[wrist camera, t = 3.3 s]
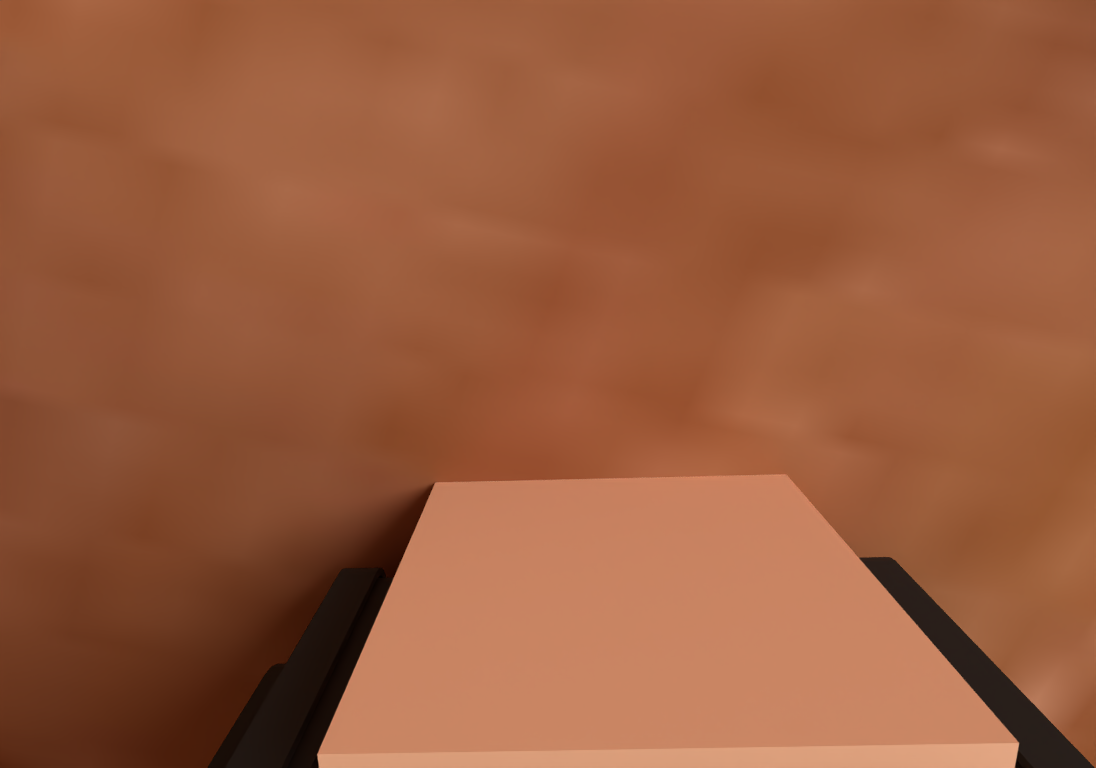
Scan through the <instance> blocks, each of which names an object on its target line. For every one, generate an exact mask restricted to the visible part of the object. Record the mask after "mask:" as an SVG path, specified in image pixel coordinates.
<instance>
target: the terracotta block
mask: <svg viewBox="0 0 1096 768" xmlns="http://www.w3.org/2000/svg"><path fill="white" fill-rule="evenodd" d="M1018 747H1019V742H1018V741H1017V740H1016V739H1015V738H1014V736H1013V735H1012V734H1011V733H1010V732H1009V731H1008V730H1007V728H1006V727H1005V726H1004V725H1003V724H1002V723H1001V721H1000V720H999V719H998V718H997V717H996V716H995V715H994V713H993V712H992V711H991V710H990V709H989V708H988V706H987V705H986V704H985V703H984V702H983V701H982V700H981V698H980V697H979V696H978V695H977V694H976V693H975V691H974V690H973V689H972V688H971V687H970V686H969V685H968V683H967V682H966V681H965V680H964V679H963V678H962V676H961V675H960V674H959V673H958V672H957V671H956V670H955V668H954V667H953V666H952V665H951V664H950V663H949V661H948V660H947V659H946V658H945V657H944V656H943V655H942V653H941V652H940V651H939V650H938V649H937V648H936V646H935V645H934V644H933V643H932V642H931V641H930V640H929V638H928V637H927V636H926V635H925V634H924V633H923V631H922V630H921V629H920V628H919V627H918V626H917V625H916V623H915V622H914V621H913V620H912V619H911V618H910V616H909V615H908V614H907V613H906V612H905V611H904V610H903V608H902V607H901V606H900V605H899V604H898V603H897V601H896V600H895V599H894V598H893V597H892V596H891V595H890V593H889V592H888V591H887V590H886V589H885V588H884V587H883V585H882V584H881V583H880V582H879V581H878V580H877V578H876V577H875V576H874V575H873V574H872V573H871V572H870V570H869V569H868V568H867V567H866V566H865V565H864V563H863V562H862V561H861V560H860V559H859V558H858V557H857V555H856V554H855V553H854V552H853V551H852V550H851V548H850V547H849V546H848V545H847V544H846V543H845V542H844V540H843V539H842V538H841V537H840V536H839V535H838V533H837V532H836V531H835V530H834V529H833V528H832V527H831V525H830V524H829V523H828V522H827V521H826V520H825V518H824V517H823V516H822V515H821V514H820V513H819V512H818V510H817V509H816V508H815V507H814V506H813V505H812V503H811V502H810V501H809V500H808V499H807V498H806V497H805V495H804V494H803V493H802V492H801V491H800V490H799V488H798V487H797V486H796V485H795V484H794V483H793V482H792V480H791V479H790V478H789V477H788V476H787V475H786V474H782V475H739V476H697V477H654V478H611V479H568V480H525V481H482V482H440V483H435V484H434V487H433V489H432V491H431V493H430V496H429V498H428V500H427V503H426V505H425V507H424V510H423V512H422V514H421V517H420V519H419V521H418V523H417V526H416V528H415V530H414V533H413V535H412V537H411V540H410V542H409V544H408V546H407V549H406V551H405V553H404V556H403V558H402V560H401V563H400V565H399V567H398V570H397V572H396V574H395V576H394V579H393V581H392V583H391V586H390V588H389V590H388V593H387V595H386V597H385V600H384V602H383V604H382V606H381V609H380V611H379V613H378V616H377V618H376V620H375V623H374V625H373V627H372V629H371V632H370V634H369V636H368V639H367V641H366V643H365V646H364V648H363V650H362V653H361V655H360V657H359V659H358V662H357V664H356V666H355V669H354V671H353V673H352V676H351V678H350V680H349V682H348V685H347V687H346V689H345V692H344V694H343V696H342V699H341V701H340V703H339V706H338V708H337V710H336V712H335V715H334V717H333V719H332V722H331V724H330V726H329V729H328V731H327V733H326V735H325V738H324V740H323V742H322V745H321V747H320V749H319V752H318V754H317V756H318V763H319V768H1015V763H1016V758H1017V752H1018Z"/></svg>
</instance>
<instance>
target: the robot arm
mask: <svg viewBox="0 0 1096 768" xmlns="http://www.w3.org/2000/svg"><path fill="white" fill-rule="evenodd" d="M859 559H860V560H861V561H862V562H863V563H864V565H865V566H866V567H867V568H868V569H869V570H870V572H871V573H872V574H873V575H874V576H875V577H876V578H877V580H878V581H879V582H880V583H881V584H882V585H883V587H884V588H885V589H886V590H887V591H888V592H889V593H890V595H891V596H892V597H893V598H894V599H895V600H896V601H897V603H898V604H899V605H900V606H901V607H902V608H903V610H904V611H905V612H906V613H907V614H908V615H909V616H910V618H911V619H912V620H913V621H914V622H915V623H916V625H917V626H918V627H919V628H920V629H921V630H922V631H923V633H924V634H925V635H926V636H927V637H928V638H929V640H930V641H931V642H932V643H933V644H934V645H935V646H936V648H937V649H938V650H939V651H940V652H941V653H942V655H943V656H944V657H945V658H946V659H947V660H948V661H949V663H950V664H951V665H952V666H953V667H954V668H955V670H956V671H957V672H958V673H959V674H960V675H961V676H962V678H963V679H964V680H965V681H966V682H967V683H968V685H969V686H970V687H971V688H972V689H973V690H974V691H975V693H976V694H977V695H978V696H979V697H980V698H981V700H982V701H983V702H984V703H985V704H986V705H987V706H988V708H989V709H990V710H991V711H992V712H993V713H994V715H995V716H996V717H997V718H998V719H999V720H1000V721H1001V723H1002V724H1003V725H1004V726H1005V727H1006V728H1007V730H1008V731H1009V732H1010V733H1011V734H1012V735H1013V736H1014V738H1015V739H1016V740H1017V741H1018V742H1019V747H1018V752H1017V758H1016V763H1015V768H1094V767H1093V766H1092V765H1091V763H1090V762H1089V761H1088V760H1087V759H1086V758H1085V757H1084V756H1083V755H1082V754H1081V753H1080V752H1079V751H1078V750H1077V749H1076V748H1075V747H1074V746H1073V745H1072V744H1071V743H1070V742H1069V741H1068V740H1067V739H1066V738H1065V736H1064V735H1063V734H1062V733H1061V732H1060V731H1059V730H1058V729H1057V728H1056V727H1055V726H1054V725H1053V724H1052V723H1051V722H1050V721H1049V720H1048V719H1047V718H1046V717H1045V716H1044V715H1043V714H1042V713H1041V712H1040V711H1039V709H1038V708H1037V707H1036V706H1035V705H1034V704H1033V703H1032V702H1031V701H1030V700H1029V699H1028V698H1027V697H1026V696H1025V695H1024V694H1023V693H1022V692H1021V691H1020V690H1019V689H1018V688H1017V687H1016V686H1015V685H1014V684H1013V682H1012V681H1011V680H1010V679H1009V678H1008V677H1007V676H1006V675H1005V674H1004V673H1003V672H1002V671H1001V670H1000V669H999V668H998V667H997V666H996V665H995V664H994V663H993V662H992V661H991V660H990V659H989V658H988V657H987V655H986V654H985V653H984V652H983V651H982V650H981V649H980V648H979V647H978V646H977V645H976V644H975V643H974V642H973V641H972V640H971V639H970V638H969V637H968V636H967V635H966V634H965V633H964V632H963V631H962V630H961V628H960V627H959V626H958V625H957V624H956V623H955V622H954V621H953V620H952V619H951V618H950V617H949V616H948V615H947V614H946V613H945V612H944V611H943V610H942V609H941V608H940V607H939V606H938V605H937V604H936V603H935V601H934V600H933V599H932V598H931V597H930V596H929V595H928V594H927V593H926V592H925V591H924V590H923V589H922V588H921V587H920V586H919V585H918V584H917V583H916V582H915V581H914V580H913V579H912V578H911V577H910V576H909V574H908V573H907V572H906V571H905V570H904V569H903V568H902V567H901V566H900V565H899V564H898V563H897V562H896V561H895V560H893V559H892V558H890V557H871V558H859ZM393 579H394V578H386V576H385V572H384V570H383V569H382V568H345V569H342V570H341V571H340V573H339V574H338V576H337V578H336V579H335V581H334V583H333V585H332V586H331V588H330V590H329V591H328V593H327V595H326V597H325V598H324V600H323V602H322V603H321V605H320V607H319V608H318V610H317V612H316V614H315V615H314V617H313V619H312V620H311V622H310V624H309V626H308V627H307V629H306V631H305V632H304V634H303V636H302V637H301V639H300V641H299V643H298V644H297V646H296V648H295V649H294V651H293V653H292V655H291V656H290V658H289V660H288V661H287V663H286V664H276V665H274V666H272V667H271V668H270V669H269V670H268V672H267V673H266V674H265V675H264V677H263V679H262V680H261V682H260V683H259V685H258V687H257V688H256V690H255V692H254V693H253V695H252V696H251V698H250V700H249V701H248V703H247V704H246V706H245V708H244V709H243V711H242V713H241V714H240V716H239V717H238V719H237V721H236V722H235V724H234V726H233V727H232V729H231V730H230V732H229V734H228V735H227V737H226V738H225V740H224V742H223V743H222V745H221V747H220V748H219V750H218V751H217V753H216V755H215V756H214V758H213V759H212V761H211V763H210V764H209V766H208V768H319V763H318V756H317V754H318V752H319V749H320V747H321V745H322V742H323V740H324V738H325V735H326V733H327V731H328V729H329V726H330V724H331V722H332V719H333V717H334V715H335V712H336V710H337V708H338V706H339V703H340V701H341V699H342V696H343V694H344V692H345V689H346V687H347V685H348V682H349V680H350V678H351V676H352V673H353V671H354V669H355V666H356V664H357V662H358V659H359V657H360V655H361V653H362V650H363V648H364V646H365V643H366V641H367V639H368V636H369V634H370V632H371V629H372V627H373V625H374V623H375V620H376V618H377V616H378V613H379V611H380V609H381V606H382V604H383V602H384V600H385V597H386V595H387V593H388V590H389V588H390V586H391V583H392V581H393Z"/></svg>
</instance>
